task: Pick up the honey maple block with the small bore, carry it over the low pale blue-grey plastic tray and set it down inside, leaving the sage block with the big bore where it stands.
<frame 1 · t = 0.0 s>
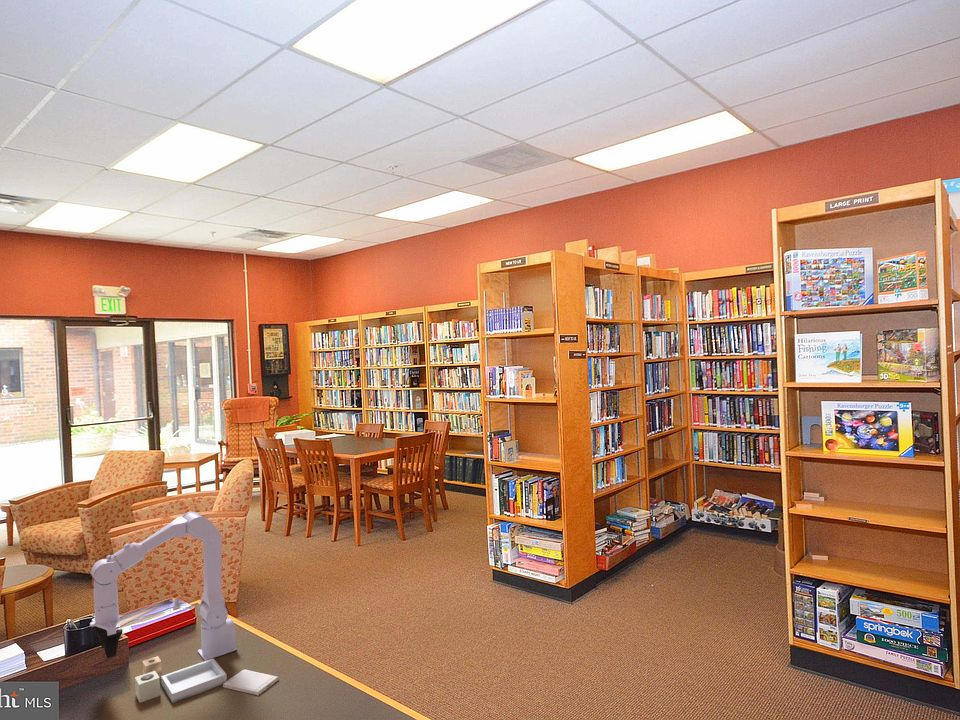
hand: (108, 651, 171), 10 cm above the table, tool pointing down, fingers open, 7 cm apart
white flat slab: (251, 686, 170), on the table
tray: (194, 683, 171), on the table
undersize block: (152, 678, 175), on the table
oversize block: (148, 695, 166), on the table
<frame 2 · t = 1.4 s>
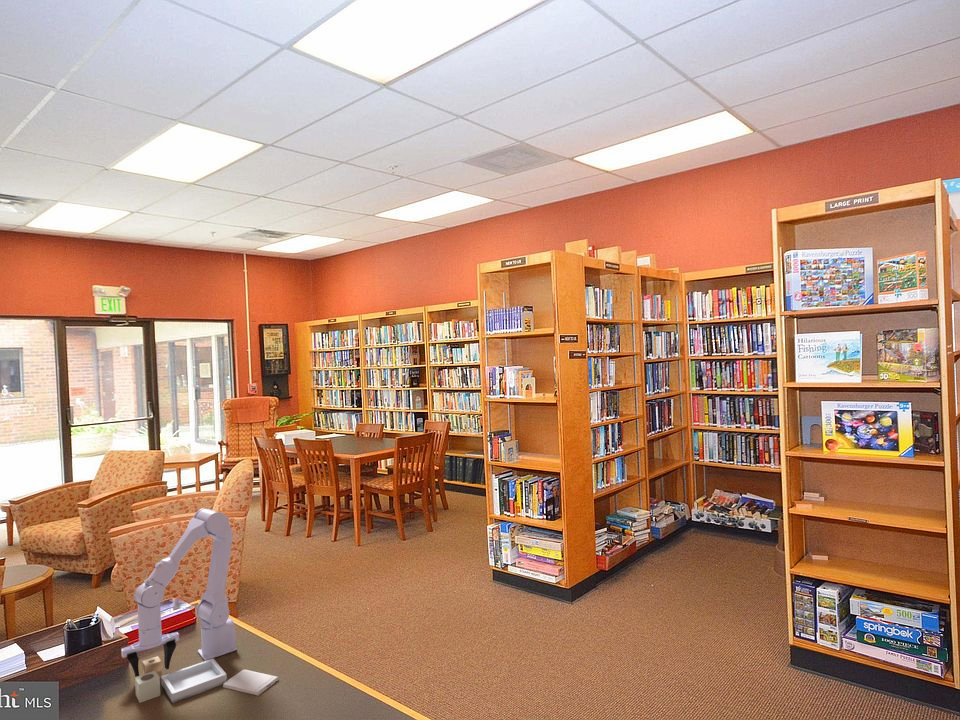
hand: (152, 672, 175), 1 cm above the table, tool pointing down, fingers open, 7 cm apart
nothing on the table moved.
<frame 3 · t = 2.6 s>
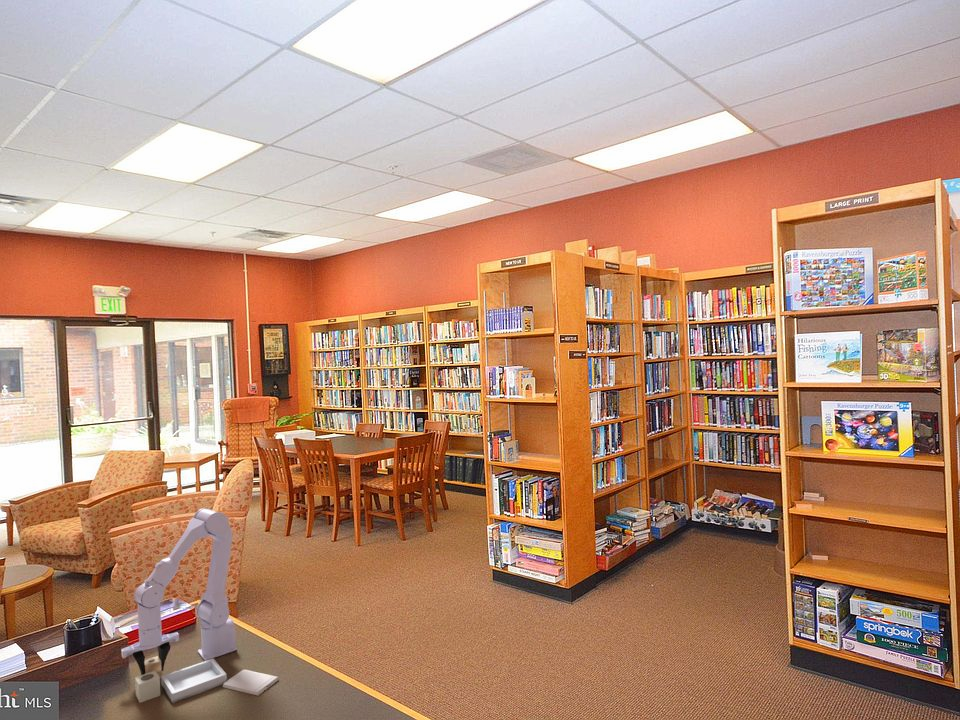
hand: (152, 673, 175), 1 cm above the table, tool pointing down, fingers closed on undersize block, 4 cm apart
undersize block: (152, 678, 175), on the table, touching gripper
everything else where it was.
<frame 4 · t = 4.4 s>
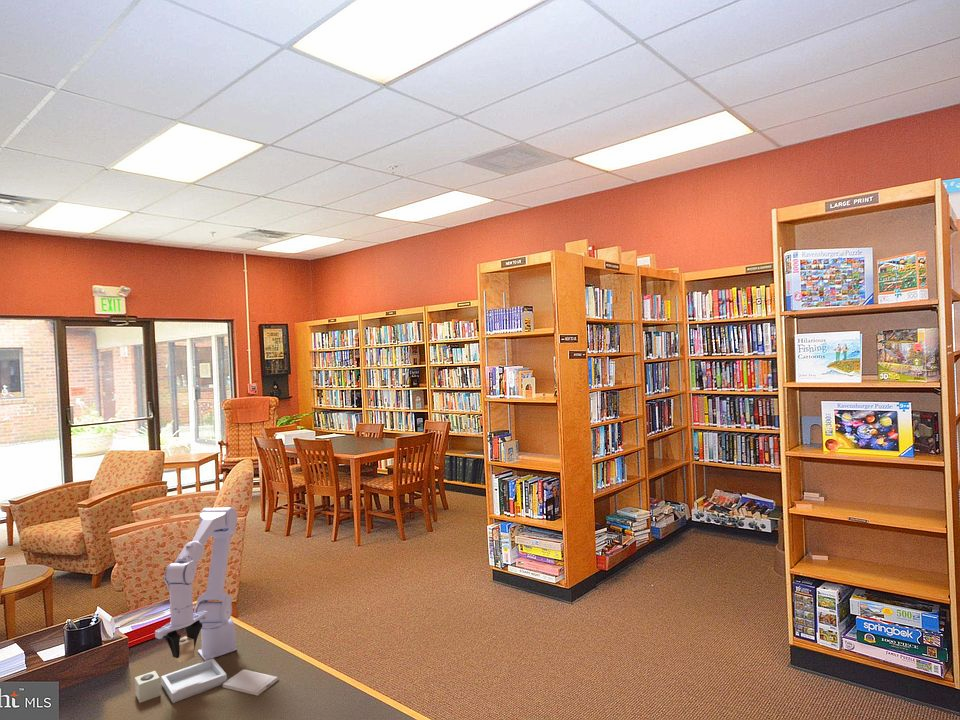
hand: (183, 653, 172), 8 cm above the table, tool pointing down, fingers closed on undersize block, 4 cm apart
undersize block: (183, 658, 172), point 7 cm above the table, touching gripper
everything else where it was.
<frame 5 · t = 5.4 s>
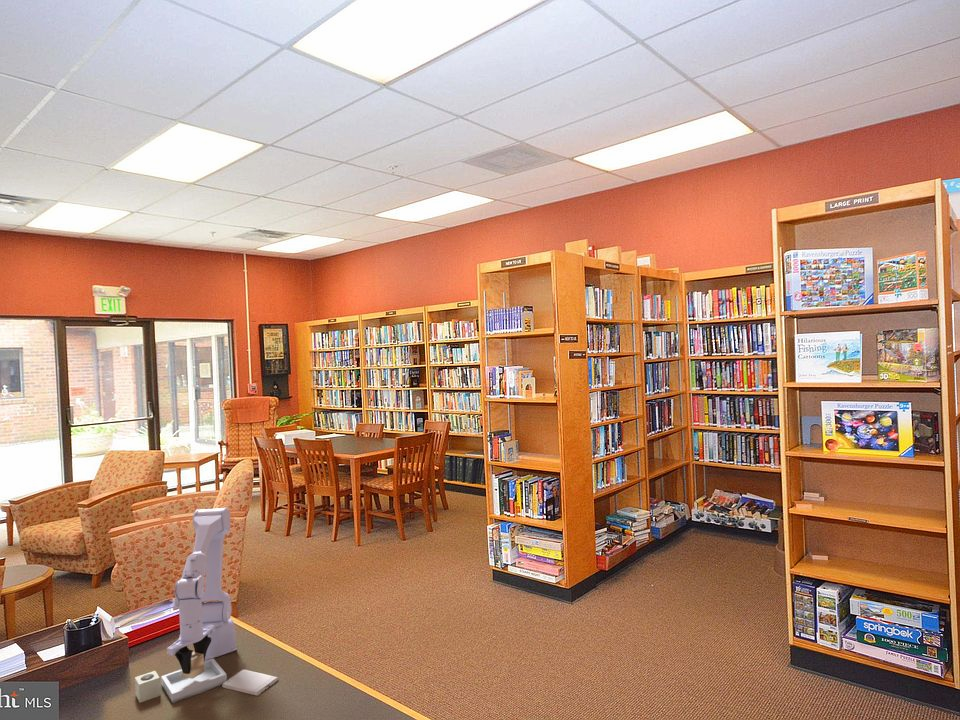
hand: (193, 668, 171), 4 cm above the table, tool pointing down, fingers closed on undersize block, 4 cm apart
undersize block: (193, 673, 171), point 3 cm above the table, touching gripper
everything else where it was.
when the fingers open (3 cm above the table, at t = 6.4 s): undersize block drops 1 cm, resting on tray.
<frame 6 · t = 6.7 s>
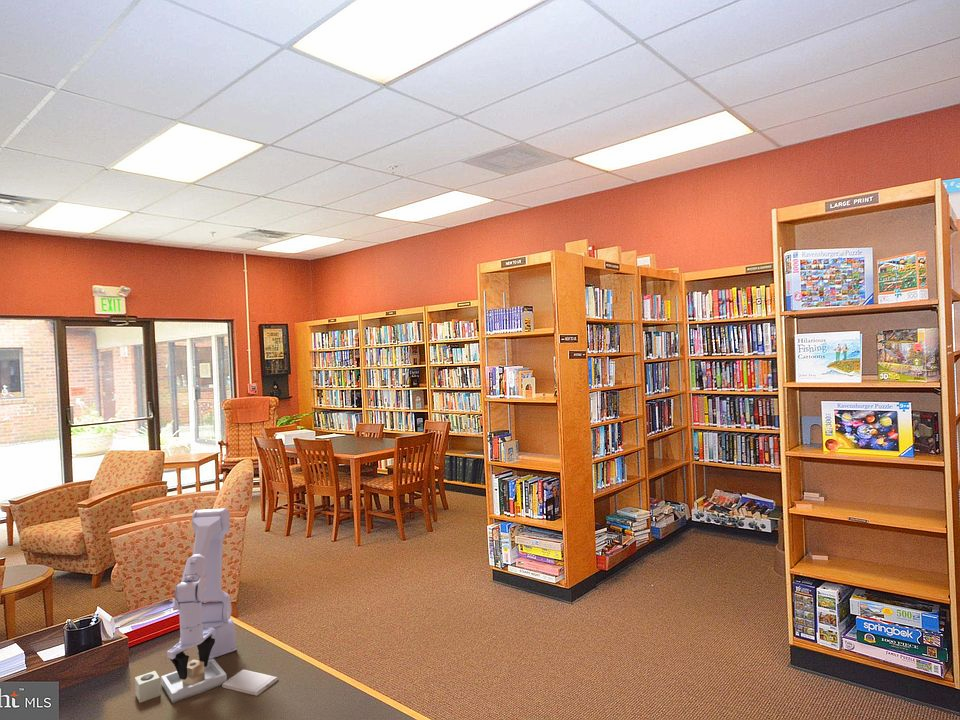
hand: (193, 671, 171), 3 cm above the table, tool pointing down, fingers open, 6 cm apart
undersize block: (193, 681, 171), point 1 cm above the table, touching tray
everything else where it was.
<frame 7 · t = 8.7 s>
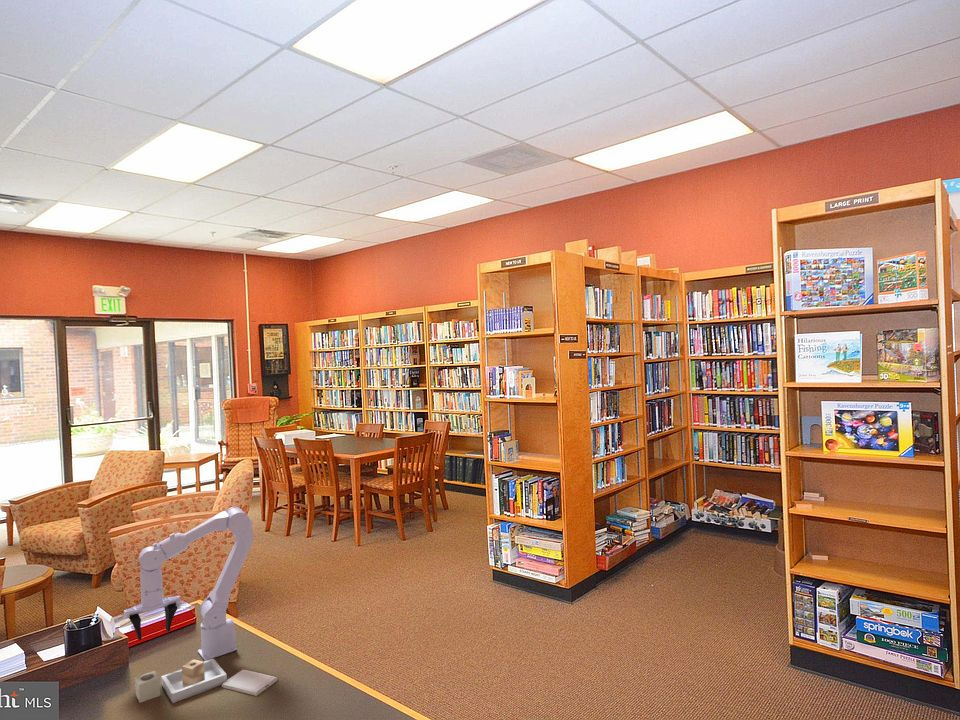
hand: (153, 634, 180), 10 cm above the table, tool pointing down, fingers open, 7 cm apart
nothing on the table moved.
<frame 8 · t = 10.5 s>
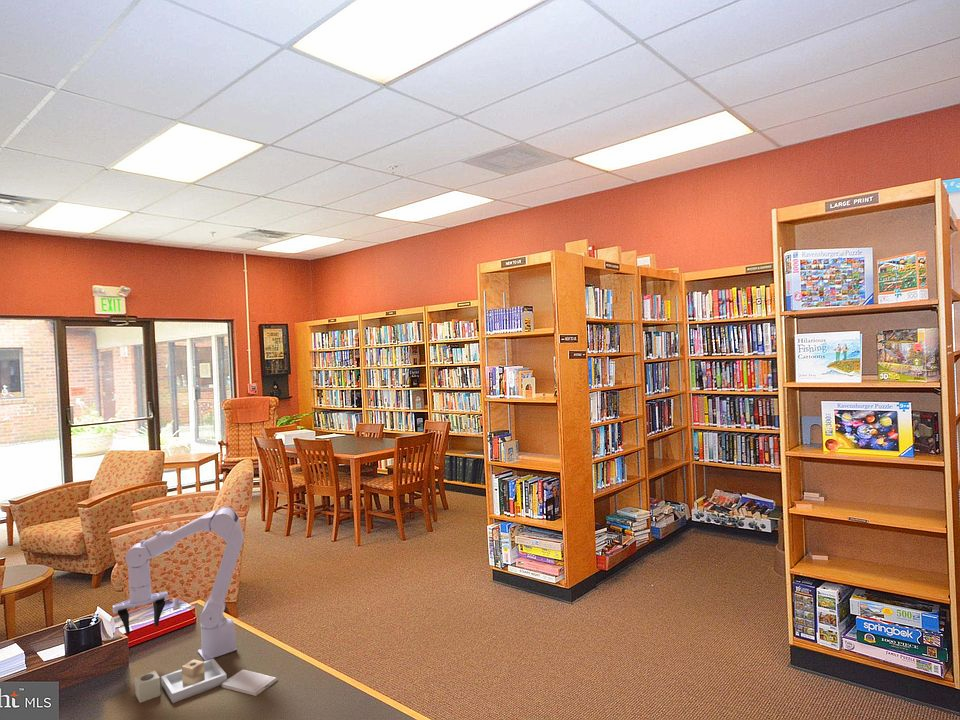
hand: (142, 629, 183), 10 cm above the table, tool pointing down, fingers open, 7 cm apart
nothing on the table moved.
at the end: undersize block 0.2 cm off-centre on the tray, point 0.6 cm above the tray's base; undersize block tilted 0°; the gripper is holding nothing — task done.
